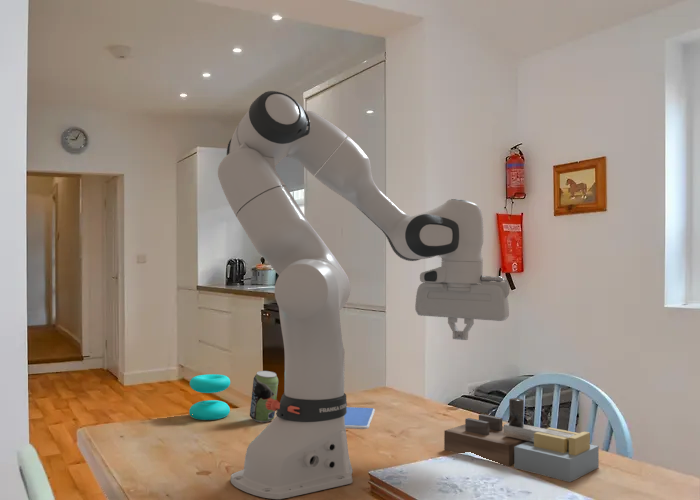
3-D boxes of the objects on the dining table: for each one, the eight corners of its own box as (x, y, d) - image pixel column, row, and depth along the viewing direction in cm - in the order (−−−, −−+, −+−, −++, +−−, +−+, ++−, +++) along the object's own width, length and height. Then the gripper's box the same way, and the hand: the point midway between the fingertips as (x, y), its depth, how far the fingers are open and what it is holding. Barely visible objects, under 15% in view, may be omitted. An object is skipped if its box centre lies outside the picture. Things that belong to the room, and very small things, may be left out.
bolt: (570, 450, 115) (570, 410, 115) (503, 435, 125) (503, 399, 125) (578, 447, 117) (577, 408, 117) (511, 432, 127) (511, 397, 127)
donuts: (234, 378, 154) (192, 381, 151) (233, 419, 154) (192, 422, 150) (226, 372, 164) (187, 374, 160) (225, 410, 163) (186, 413, 160)
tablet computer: (368, 431, 146) (368, 425, 146) (315, 429, 147) (315, 423, 148) (375, 412, 165) (375, 407, 165) (328, 411, 167) (328, 406, 167)
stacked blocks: (570, 482, 110) (570, 442, 110) (514, 467, 118) (514, 430, 118) (598, 467, 119) (598, 430, 119) (544, 454, 127) (544, 420, 127)
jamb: (508, 466, 119) (508, 432, 119) (444, 449, 129) (444, 418, 130) (539, 453, 127) (539, 421, 128) (476, 439, 138) (476, 409, 138)
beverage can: (261, 416, 157) (262, 368, 158) (283, 420, 153) (284, 371, 153) (243, 421, 152) (244, 371, 153) (265, 425, 148) (266, 375, 148)
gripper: (513, 276, 132) (512, 342, 132) (424, 274, 143) (423, 334, 142) (505, 276, 127) (503, 344, 126) (413, 273, 137) (411, 336, 137)
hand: (460, 339), depth 134 cm, fingers closed
